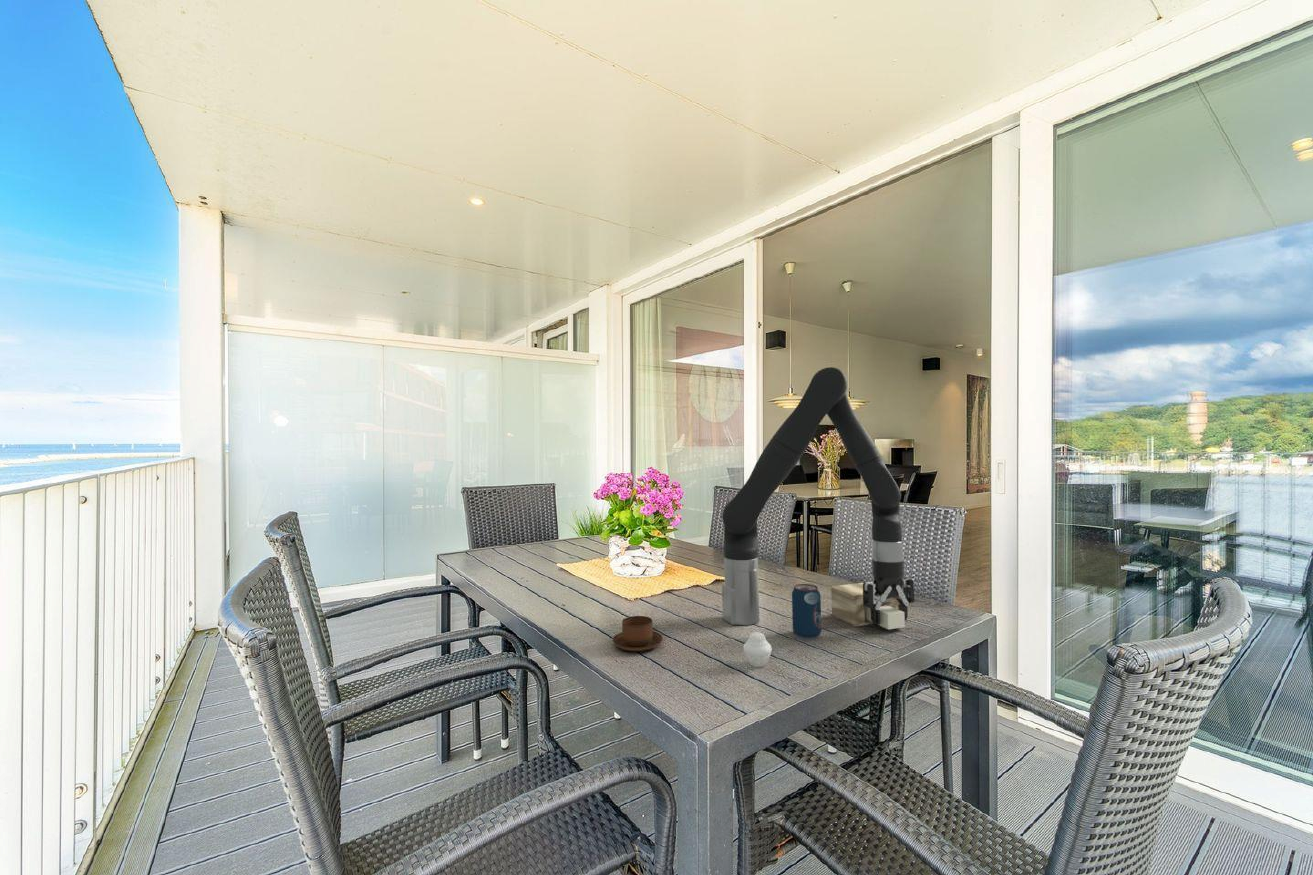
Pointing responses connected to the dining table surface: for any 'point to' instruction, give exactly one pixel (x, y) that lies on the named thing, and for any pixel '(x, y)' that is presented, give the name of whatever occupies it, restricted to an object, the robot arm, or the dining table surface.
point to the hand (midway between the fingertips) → (889, 621)
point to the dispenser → (853, 603)
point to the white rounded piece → (757, 649)
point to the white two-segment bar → (888, 617)
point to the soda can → (806, 611)
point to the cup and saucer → (637, 634)
